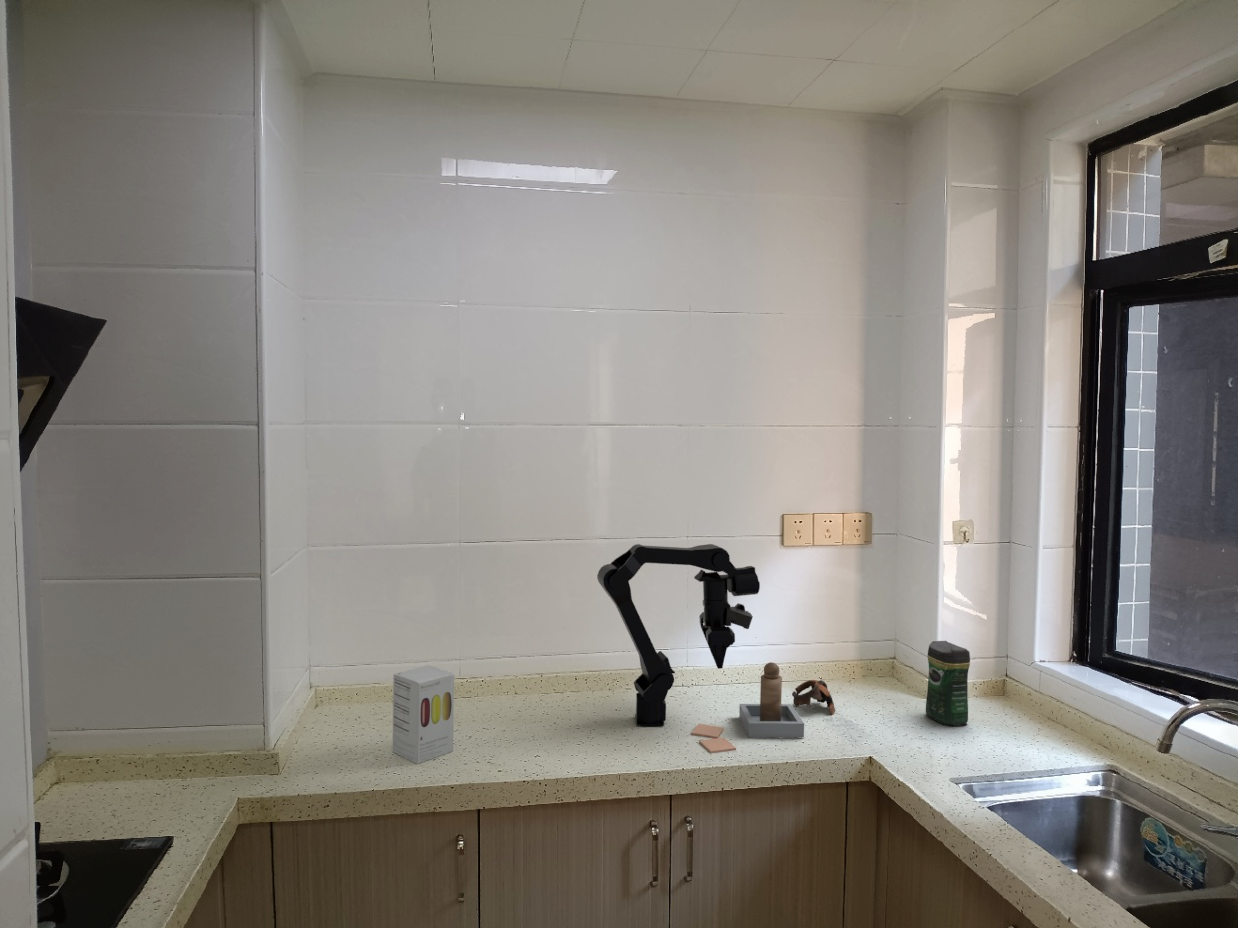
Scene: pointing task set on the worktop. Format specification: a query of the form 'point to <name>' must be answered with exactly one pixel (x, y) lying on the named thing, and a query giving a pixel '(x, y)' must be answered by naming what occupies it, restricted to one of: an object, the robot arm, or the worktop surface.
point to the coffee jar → (948, 683)
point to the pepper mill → (770, 693)
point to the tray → (771, 722)
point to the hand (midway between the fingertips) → (717, 662)
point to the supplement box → (423, 713)
